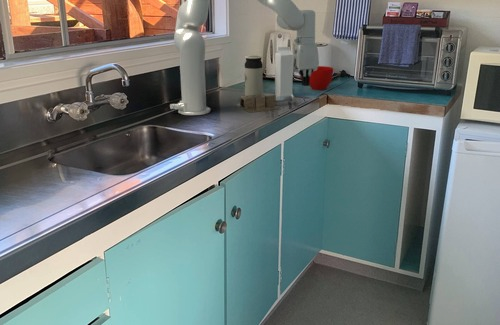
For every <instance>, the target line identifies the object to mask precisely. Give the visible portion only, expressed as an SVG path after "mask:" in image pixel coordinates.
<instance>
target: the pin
mask: <svg viewBox="0 0 500 325" xmlns="http://www.w3.org/2000/svg"><path fill="white" fill-rule="evenodd" d="M294 101H295V95H294V94H293V93H292V94H290V95H286V96H276V103H281V102H294Z"/></svg>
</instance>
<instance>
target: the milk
mask: <svg viewBox="0 0 500 325" xmlns="http://www.w3.org/2000/svg"><path fill="white" fill-rule="evenodd" d="M274 60H275V61H274V71H275V72H274V95H276V97H277V96H286V95H290V94H293V80H294V79H293V75H294V74H293V72H294V70H293V69H294V65H293V61H294V53H293V52H292V51H291V47H290V46H279V47H277V51H276V53H275V54H274Z"/></svg>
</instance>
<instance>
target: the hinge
mask: <svg viewBox="0 0 500 325" xmlns="http://www.w3.org/2000/svg"><path fill="white" fill-rule="evenodd" d="M276 97H277V96H276V95H275V93H271V92H270V93H269V92H268V93H263V94H257V95H251V96H250V95H248V96H245V95H241V96H239V104H236V105H235V106H236V108H239V109H241V110H242V111H245V112H247V113H250V114H251V113H256V112H257V113H258V112H264V111H274V110H280V109H281V107H280V106H278V105H277V102H276Z"/></svg>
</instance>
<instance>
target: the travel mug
mask: <svg viewBox="0 0 500 325" xmlns="http://www.w3.org/2000/svg"><path fill="white" fill-rule="evenodd" d="M244 58H245V63H244V96H248V95H250V96H251V95H257V94H264V91H263V90H264V89H263V86H264V85H263V80H264V79H263V76H264V75H263V74H264V73H263V72H264V70H263V67H264V66H263V61H262V58H263V56H262V55H256V54H255V55H254V54H251V55H246V56H245V57H244Z"/></svg>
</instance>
